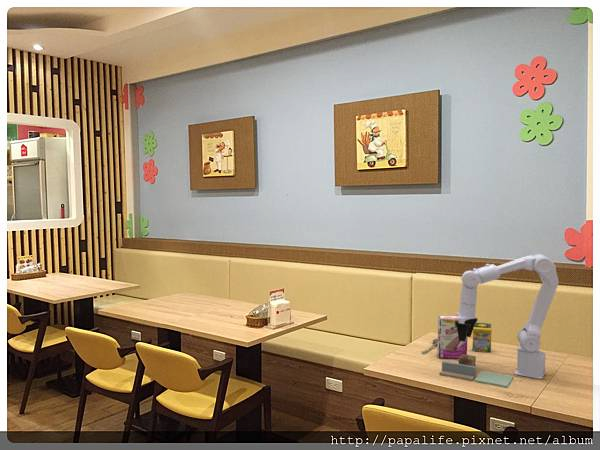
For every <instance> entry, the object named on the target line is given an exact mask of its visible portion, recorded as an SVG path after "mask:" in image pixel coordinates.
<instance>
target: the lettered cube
mask: <svg viewBox="0 0 600 450" xmlns="http://www.w3.org/2000/svg"><path fill="white" fill-rule="evenodd" d="M476 359H477V357H476V355H471V354H467V355H465V354H462V355H461V356H460V357H459V359H458V364H463V365H469V366H475V367H476V368H477V366H476V364H477V363H476V362H477V361H476Z"/></svg>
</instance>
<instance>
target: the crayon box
mask: <svg viewBox="0 0 600 450" xmlns="http://www.w3.org/2000/svg"><path fill="white" fill-rule="evenodd" d="M482 325H483V326H482ZM472 352H479V353H480V352H482V353H490V352H491V353H492V323H486V322H476V323H475V325H474V328H473V331H472Z"/></svg>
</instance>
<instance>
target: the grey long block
mask: <svg viewBox="0 0 600 450" xmlns="http://www.w3.org/2000/svg"><path fill="white" fill-rule="evenodd" d="M438 373H439V376H443V377H444V376H445V377H448V378H453V379H459V380H463V381H464V380H465V381H470V382H473V381H474V380H475V378H476V377H477V366H476V367H475V366H469V365H463V364H459V362H458V363H457V362H451V361H446V360H443V361H442V362H441V371H439V372H438Z"/></svg>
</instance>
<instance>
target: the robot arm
mask: <svg viewBox="0 0 600 450" xmlns="http://www.w3.org/2000/svg"><path fill="white" fill-rule="evenodd" d="M556 267H557V266H556V264H555V263H554V262H553V260H552V259H551V258H550V257H547V256H545V255H544V254H543V253H536V254H533V255H531V254H530V255H526V256H523V257H519V258H516V259H514V260H511V261H507V262H506V263H502V264H500V265H495V264H494V263H492V264H489V263H486V264H485V265H484V266H482V267H479V268H476V267H475V268H473V269H472V270H466V271H464V273H463V274H462V275H461V282H462V285H461V291H460V297H459V298H460V300H459V310H458V311H459V312H456V313H455V316H458V317H459V321H455V325H456V327H457V331H458V337H459V341H463V342H465V340H466V337H467V338H471V337H472V335H473V328H474V325H475V323H478V318H477V317H476V308H477V299H478V286H479V285H480V284H485V283H489V282H492V281H495V280H499V278H500V276H501V275H504V274H506V273H511V272H515V271H519V270H527V271H535V273H537V274H538V277H539V278H540V280H541V281H542V283H541V285H540V288H539V291H538V294H537V295H536V299H535V300H534V303H533V306H532V309H531V312H530V314H529V316H528V320H527V321H526V323H525V324H524V325H523V327H522V329H520V330H519V331H518V333H517V338H516V339H517V341H518V342H519V345H518V346H517V356H516V357H517V358H516V360H517V361H516V363H517V364H516V369H515V370H514V373H513V374H514V375H515V376H516V375H517V376H523V377H528V378H532V379H533V378H534V379H539V380H542V379H543V378H544V377H545V374H546V352H544V351H541V350H540V346H541V336H542V327H543V325H544V322H545V320H546V317H547V314H548V312H549V310H550V307H551V304H552V301H553V299H554V296H555V295H556V291H557V288H558V286H559V276H558V272H557V268H556Z"/></svg>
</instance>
